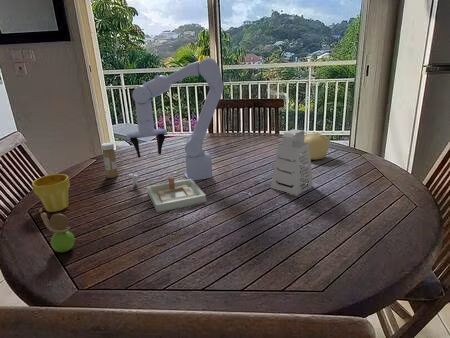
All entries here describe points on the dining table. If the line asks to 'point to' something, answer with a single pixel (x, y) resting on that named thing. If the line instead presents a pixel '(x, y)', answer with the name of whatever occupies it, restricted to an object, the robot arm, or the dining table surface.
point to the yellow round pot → (317, 145)
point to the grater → (292, 163)
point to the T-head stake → (134, 179)
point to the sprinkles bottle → (109, 159)
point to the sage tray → (159, 206)
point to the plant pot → (52, 191)
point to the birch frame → (173, 189)
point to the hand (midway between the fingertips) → (149, 155)
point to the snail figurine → (59, 232)
